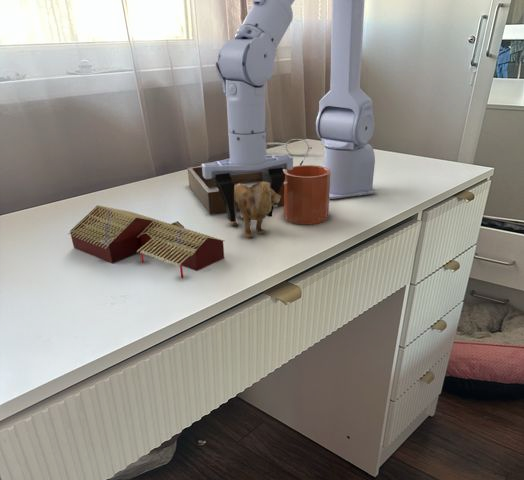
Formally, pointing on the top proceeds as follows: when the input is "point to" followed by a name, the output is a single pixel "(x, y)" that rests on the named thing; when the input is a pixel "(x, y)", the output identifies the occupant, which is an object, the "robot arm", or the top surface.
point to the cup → (306, 194)
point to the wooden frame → (214, 198)
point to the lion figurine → (254, 204)
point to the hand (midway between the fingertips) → (250, 217)
